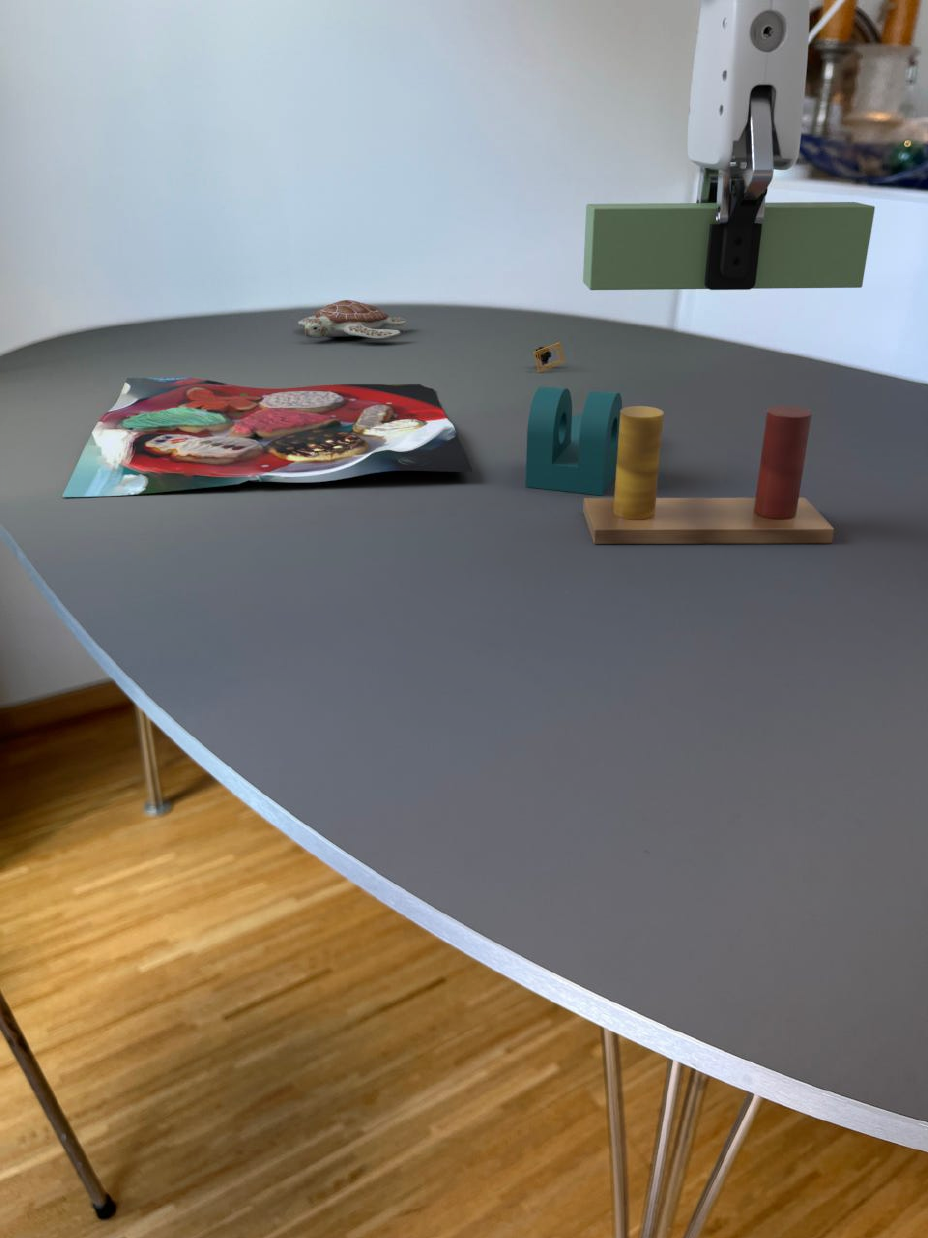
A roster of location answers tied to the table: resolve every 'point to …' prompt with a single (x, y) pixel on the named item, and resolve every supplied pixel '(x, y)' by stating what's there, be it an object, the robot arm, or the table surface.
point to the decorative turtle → (350, 321)
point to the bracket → (572, 441)
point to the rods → (708, 519)
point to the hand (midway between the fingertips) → (721, 280)
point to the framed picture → (547, 356)
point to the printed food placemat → (261, 436)
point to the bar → (678, 243)
